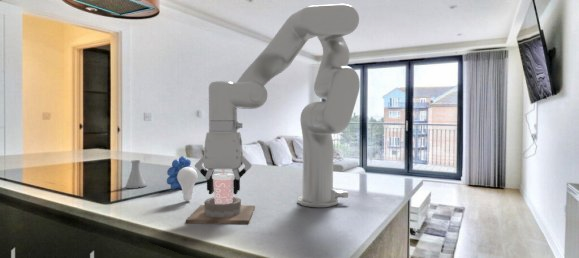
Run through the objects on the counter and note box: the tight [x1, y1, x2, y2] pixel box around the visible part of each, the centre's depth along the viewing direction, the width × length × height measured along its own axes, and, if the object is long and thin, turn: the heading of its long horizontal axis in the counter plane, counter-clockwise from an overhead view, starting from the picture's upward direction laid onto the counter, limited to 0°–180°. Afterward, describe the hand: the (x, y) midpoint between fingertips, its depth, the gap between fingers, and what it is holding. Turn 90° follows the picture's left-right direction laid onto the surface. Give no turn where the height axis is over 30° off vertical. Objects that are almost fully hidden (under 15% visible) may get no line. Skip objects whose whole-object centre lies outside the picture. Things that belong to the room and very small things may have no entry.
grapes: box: [166, 156, 193, 191], centre depth 125 cm, size 12×7×12 cm, turn 151°
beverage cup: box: [212, 169, 235, 204], centre depth 93 cm, size 6×6×14 cm
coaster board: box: [185, 196, 256, 224], centre depth 93 cm, size 16×14×4 cm
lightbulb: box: [177, 166, 198, 202], centre depth 107 cm, size 6×6×11 cm
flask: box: [125, 159, 147, 189], centre depth 128 cm, size 7×7×10 cm
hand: (223, 192), depth 93 cm, fingers closed on beverage cup, 6 cm apart
